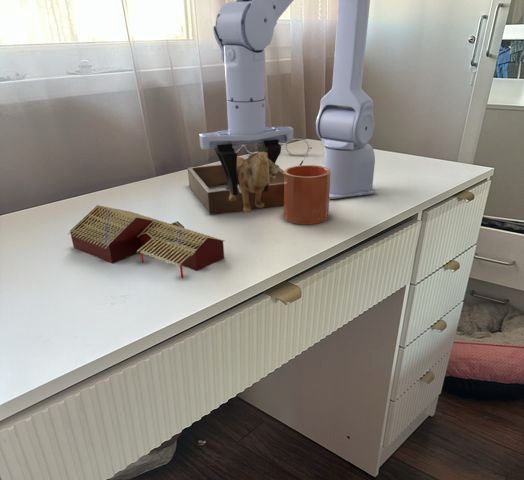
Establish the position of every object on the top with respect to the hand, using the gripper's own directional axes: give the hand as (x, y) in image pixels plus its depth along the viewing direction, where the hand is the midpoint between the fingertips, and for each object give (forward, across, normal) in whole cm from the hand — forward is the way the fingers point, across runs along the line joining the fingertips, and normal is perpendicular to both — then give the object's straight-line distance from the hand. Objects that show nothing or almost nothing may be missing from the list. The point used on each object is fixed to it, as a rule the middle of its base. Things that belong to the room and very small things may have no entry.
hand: (249, 191), depth 83 cm
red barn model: (+6, +18, +4) cm, 20 cm away
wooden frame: (+6, -4, -19) cm, 20 cm away
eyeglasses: (+6, -17, -40) cm, 44 cm away
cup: (+6, -11, -2) cm, 13 cm away
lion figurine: (+2, 0, 0) cm, 2 cm away
